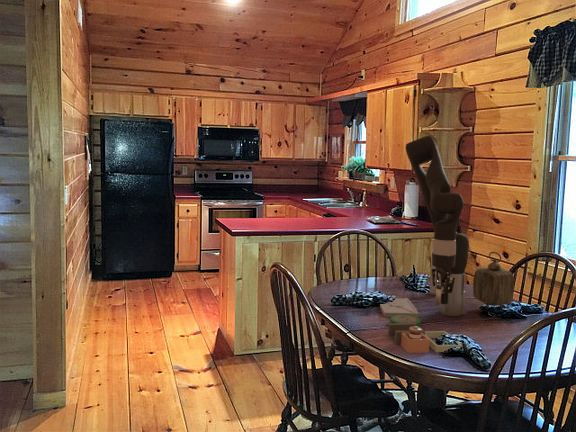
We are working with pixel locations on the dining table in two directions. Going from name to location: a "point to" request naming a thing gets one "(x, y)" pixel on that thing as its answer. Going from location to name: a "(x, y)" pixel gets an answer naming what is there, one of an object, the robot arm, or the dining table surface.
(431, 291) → the travel mug
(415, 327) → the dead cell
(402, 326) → the cradle
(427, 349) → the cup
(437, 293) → the cell
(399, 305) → the envelope
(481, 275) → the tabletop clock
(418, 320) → the tape roll
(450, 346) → the trough
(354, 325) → the dining table surface
